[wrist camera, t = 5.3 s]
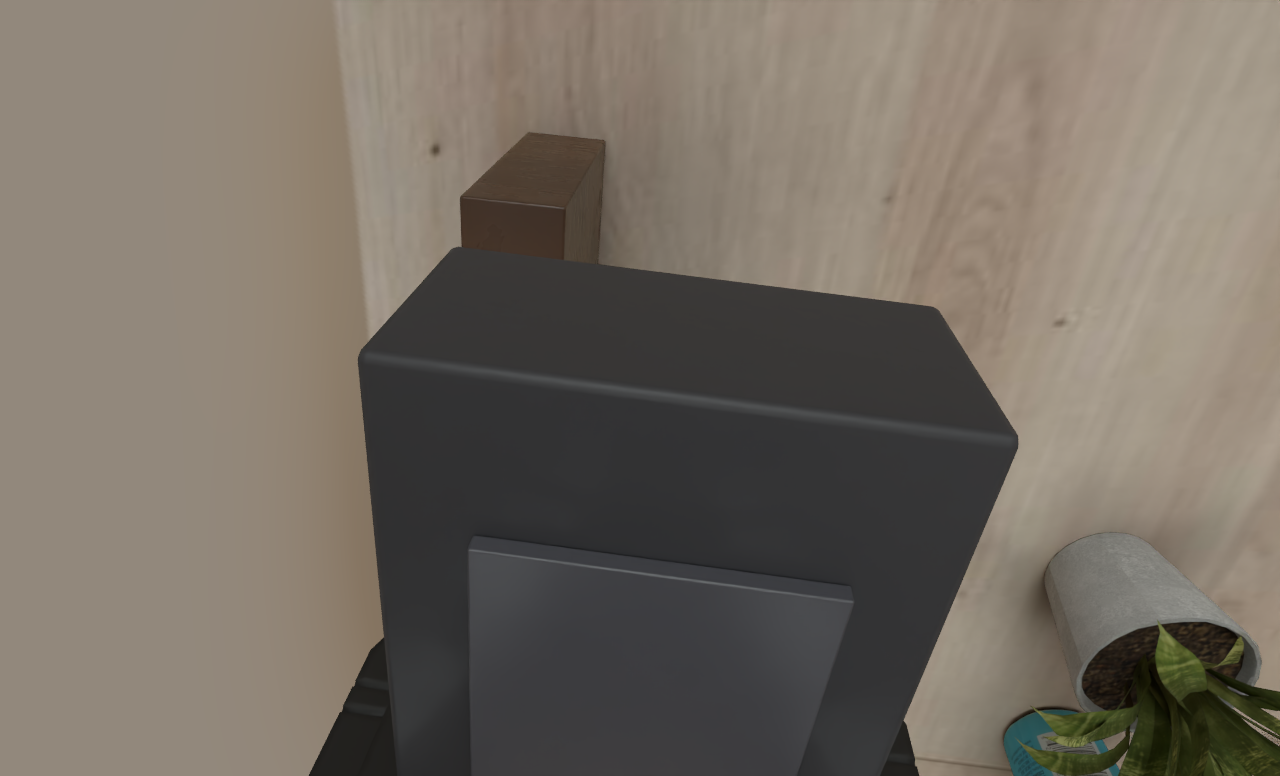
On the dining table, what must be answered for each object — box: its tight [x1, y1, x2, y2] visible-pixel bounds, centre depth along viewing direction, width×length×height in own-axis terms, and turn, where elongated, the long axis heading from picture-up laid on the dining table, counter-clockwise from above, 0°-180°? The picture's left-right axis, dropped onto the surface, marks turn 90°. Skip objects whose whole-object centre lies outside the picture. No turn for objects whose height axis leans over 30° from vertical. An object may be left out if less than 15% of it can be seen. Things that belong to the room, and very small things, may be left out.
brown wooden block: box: [460, 132, 605, 264], centre depth 29 cm, size 16×3×9 cm, turn 175°
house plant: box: [1014, 532, 1280, 776], centre depth 29 cm, size 14×14×16 cm
